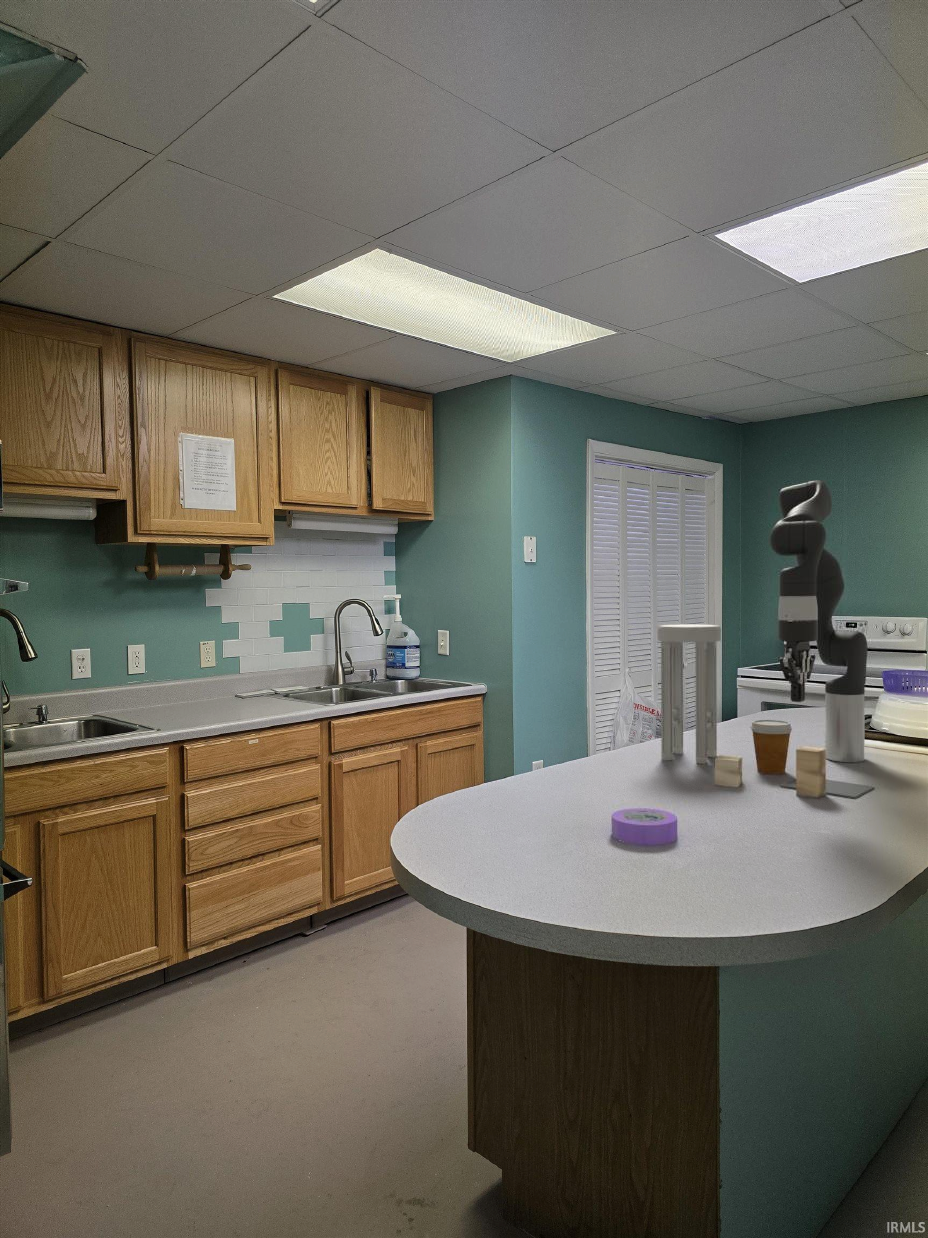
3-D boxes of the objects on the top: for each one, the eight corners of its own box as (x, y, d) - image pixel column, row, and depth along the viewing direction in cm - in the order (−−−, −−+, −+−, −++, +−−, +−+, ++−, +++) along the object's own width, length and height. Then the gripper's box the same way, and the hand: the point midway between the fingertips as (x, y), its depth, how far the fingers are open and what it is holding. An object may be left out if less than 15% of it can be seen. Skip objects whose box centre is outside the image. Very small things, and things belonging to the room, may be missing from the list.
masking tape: (599, 831, 152) (599, 811, 152) (653, 824, 156) (653, 804, 156) (634, 850, 141) (634, 828, 141) (690, 842, 145) (690, 820, 145)
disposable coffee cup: (785, 767, 203) (785, 719, 202) (797, 776, 193) (797, 725, 193) (746, 767, 204) (746, 719, 203) (756, 775, 194) (755, 725, 194)
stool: (726, 755, 218) (726, 624, 217) (710, 766, 205) (710, 627, 204) (669, 750, 226) (669, 624, 225) (651, 760, 213) (650, 626, 212)
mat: (801, 777, 192) (801, 775, 192) (874, 788, 180) (874, 786, 180) (780, 786, 183) (780, 785, 183) (855, 798, 172) (855, 796, 172)
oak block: (804, 791, 179) (804, 746, 178) (825, 795, 175) (825, 748, 175) (796, 795, 175) (796, 749, 175) (817, 799, 172) (817, 752, 172)
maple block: (719, 780, 190) (719, 754, 190) (742, 782, 188) (742, 756, 188) (715, 785, 186) (715, 758, 186) (737, 787, 183) (737, 760, 183)
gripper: (793, 616, 176) (793, 696, 177) (766, 618, 167) (766, 703, 167) (828, 617, 171) (828, 699, 172) (803, 619, 162) (803, 706, 162)
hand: (797, 701), depth 170 cm, fingers closed
